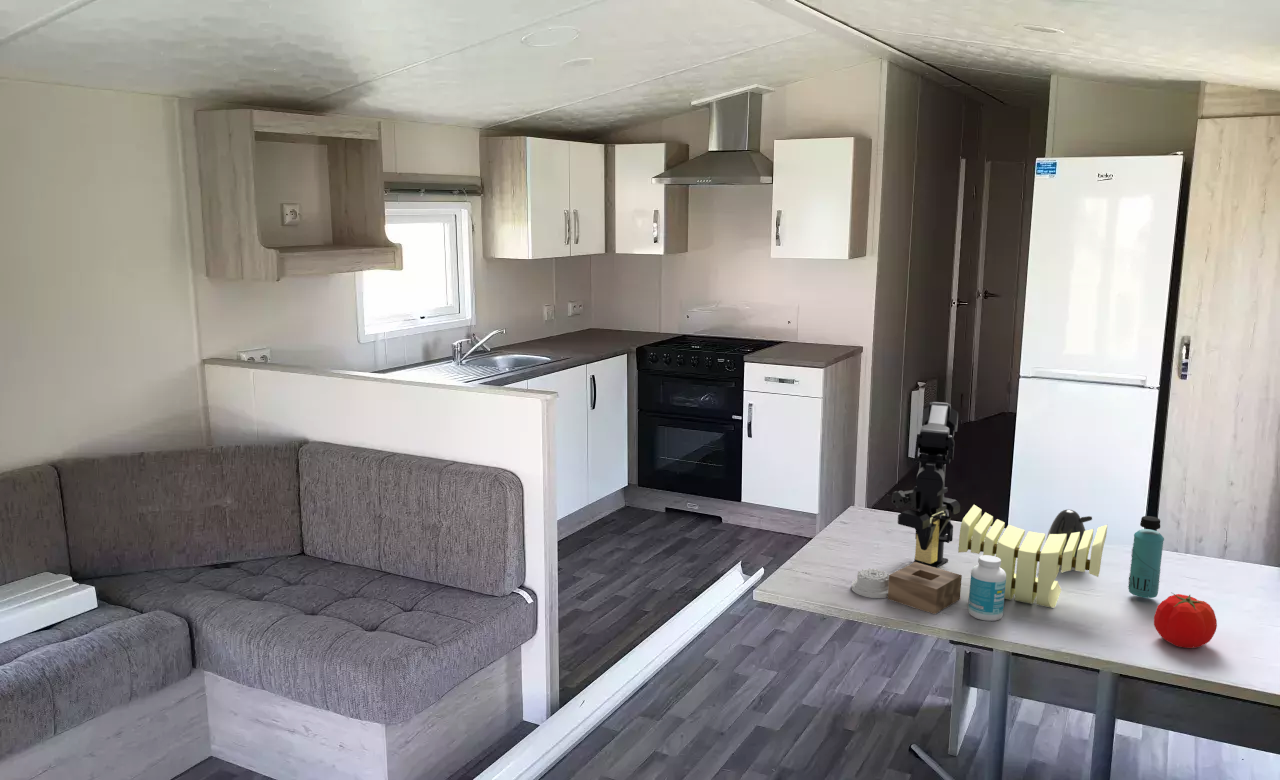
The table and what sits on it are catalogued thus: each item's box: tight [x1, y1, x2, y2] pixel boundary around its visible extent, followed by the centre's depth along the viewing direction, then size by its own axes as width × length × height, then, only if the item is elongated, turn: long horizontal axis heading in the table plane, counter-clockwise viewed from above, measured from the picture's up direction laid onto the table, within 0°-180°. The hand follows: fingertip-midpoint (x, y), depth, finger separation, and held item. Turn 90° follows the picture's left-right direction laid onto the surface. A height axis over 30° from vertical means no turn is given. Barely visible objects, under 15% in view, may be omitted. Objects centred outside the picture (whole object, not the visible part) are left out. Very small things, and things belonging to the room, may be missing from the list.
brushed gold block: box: [914, 518, 940, 564], centre depth 223 cm, size 3×4×10 cm
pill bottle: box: [967, 554, 1006, 622], centre depth 216 cm, size 8×7×14 cm
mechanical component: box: [851, 568, 890, 599], centre depth 231 cm, size 10×4×10 cm
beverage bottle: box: [1128, 515, 1165, 599], centre depth 225 cm, size 6×7×20 cm
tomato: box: [1153, 592, 1218, 649], centre depth 203 cm, size 12×12×10 cm
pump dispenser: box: [1044, 509, 1093, 571], centre depth 246 cm, size 10×10×15 cm
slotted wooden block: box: [887, 561, 963, 615], centre depth 225 cm, size 12×12×6 cm
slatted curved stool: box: [957, 504, 1108, 609], centre depth 227 cm, size 30×16×18 cm, turn 60°
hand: (927, 547), depth 224 cm, fingers closed on brushed gold block, 3 cm apart
